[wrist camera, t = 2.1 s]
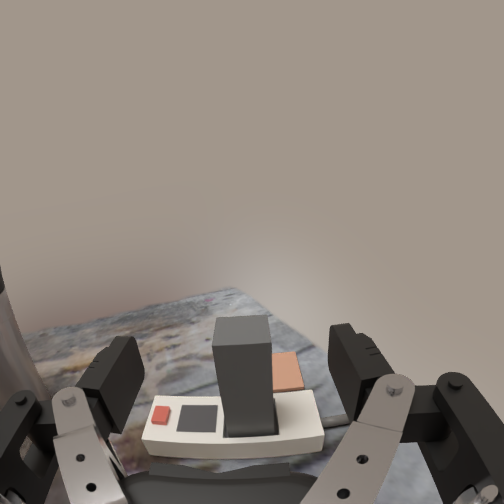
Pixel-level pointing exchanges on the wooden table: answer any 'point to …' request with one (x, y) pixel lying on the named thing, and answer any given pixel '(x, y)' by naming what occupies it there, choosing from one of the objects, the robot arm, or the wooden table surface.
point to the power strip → (216, 436)
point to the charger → (245, 374)
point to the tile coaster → (286, 372)
